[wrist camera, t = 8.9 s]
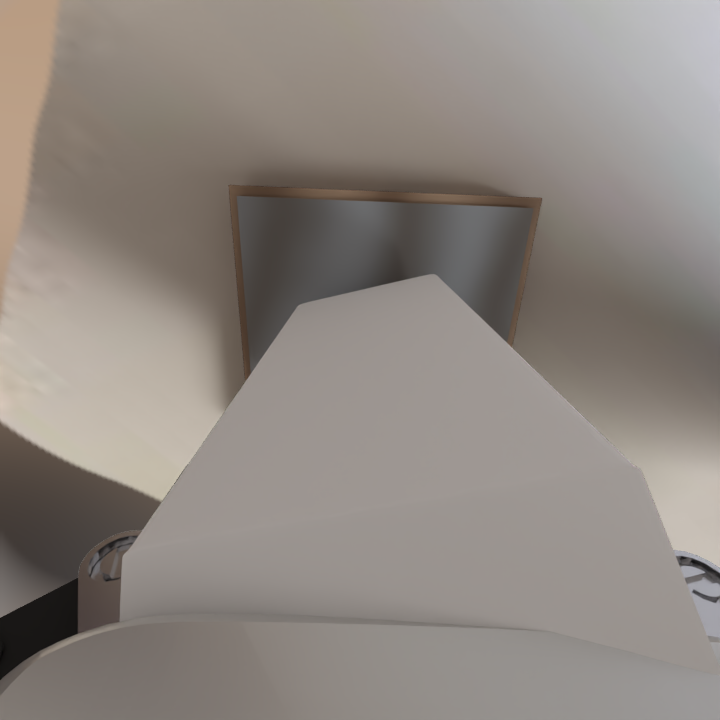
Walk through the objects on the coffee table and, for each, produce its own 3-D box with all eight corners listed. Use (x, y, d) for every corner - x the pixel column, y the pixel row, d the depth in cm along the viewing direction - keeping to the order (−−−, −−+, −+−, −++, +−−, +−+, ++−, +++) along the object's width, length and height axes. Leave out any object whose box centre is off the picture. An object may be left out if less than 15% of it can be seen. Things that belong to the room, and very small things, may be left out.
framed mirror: (522, 199, 22) (545, 197, 19) (478, 435, 28) (491, 460, 25) (243, 187, 22) (225, 184, 19) (260, 427, 28) (249, 451, 25)
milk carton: (297, 303, 19) (-430, 1325, 2) (435, 271, 19) (1715, 1466, 1) (332, 420, 22) (193, 1306, 4) (454, 396, 21) (895, 1338, 4)
